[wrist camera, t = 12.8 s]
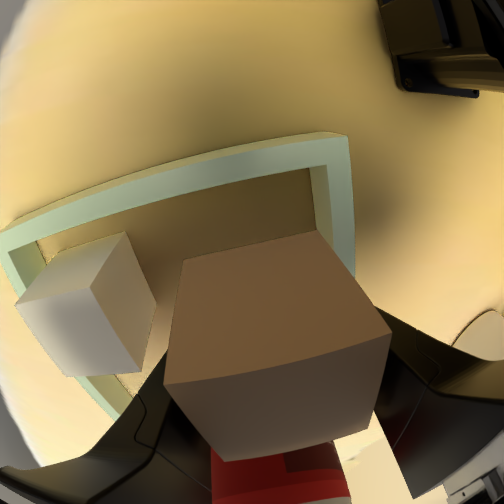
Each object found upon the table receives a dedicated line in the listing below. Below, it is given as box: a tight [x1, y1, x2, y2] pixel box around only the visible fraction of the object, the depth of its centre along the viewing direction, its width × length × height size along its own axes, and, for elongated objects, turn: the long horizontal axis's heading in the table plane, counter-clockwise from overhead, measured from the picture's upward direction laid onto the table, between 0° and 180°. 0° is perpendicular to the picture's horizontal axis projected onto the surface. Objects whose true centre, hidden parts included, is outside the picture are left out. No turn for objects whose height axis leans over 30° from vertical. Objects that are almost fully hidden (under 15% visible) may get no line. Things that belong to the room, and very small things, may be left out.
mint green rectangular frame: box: [0, 131, 355, 421], centre depth 16 cm, size 17×22×2 cm
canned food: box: [211, 440, 352, 504], centre depth 14 cm, size 8×8×11 cm
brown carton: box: [163, 230, 392, 462], centre depth 8 cm, size 4×4×5 cm
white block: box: [14, 231, 157, 377], centre depth 12 cm, size 4×4×5 cm
